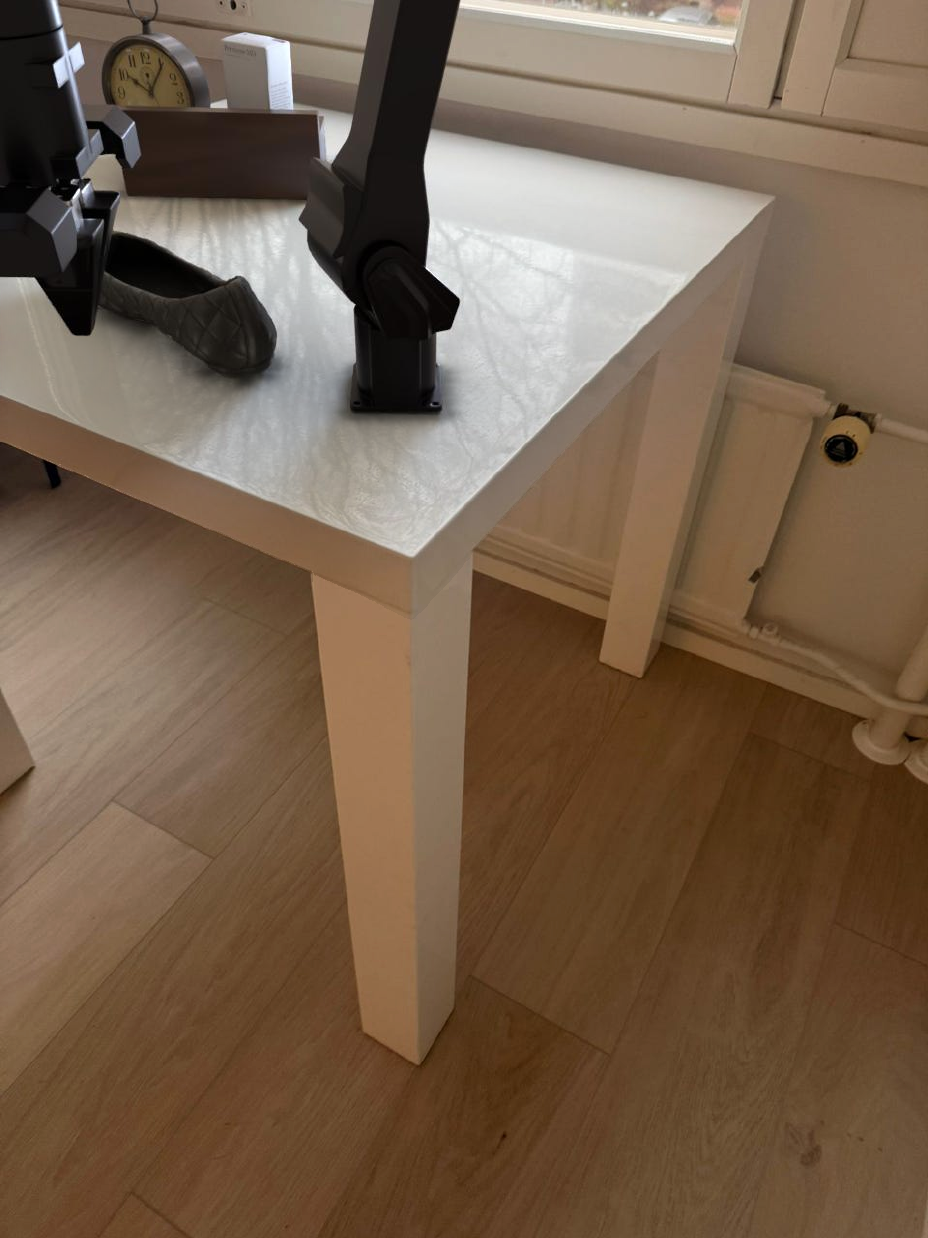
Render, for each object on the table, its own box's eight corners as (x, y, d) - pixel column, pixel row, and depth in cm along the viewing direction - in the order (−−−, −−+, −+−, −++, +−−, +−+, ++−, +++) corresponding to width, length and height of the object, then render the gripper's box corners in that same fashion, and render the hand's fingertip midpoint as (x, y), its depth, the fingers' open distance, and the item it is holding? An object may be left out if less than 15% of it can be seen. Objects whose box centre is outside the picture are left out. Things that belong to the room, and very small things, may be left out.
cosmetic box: (231, 164, 102) (215, 38, 94) (257, 154, 105) (243, 30, 97) (275, 175, 100) (262, 46, 92) (300, 164, 103) (290, 38, 95)
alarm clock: (114, 157, 103) (76, -18, 91) (140, 143, 106) (107, -26, 95) (202, 170, 100) (175, -8, 89) (225, 155, 104) (202, -17, 93)
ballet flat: (133, 258, 83) (115, 170, 78) (320, 360, 70) (312, 263, 65) (43, 285, 78) (17, 194, 73) (226, 399, 65) (209, 299, 60)
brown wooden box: (323, 199, 95) (317, 114, 90) (127, 195, 94) (108, 109, 89) (327, 176, 100) (322, 94, 95) (141, 172, 99) (125, 89, 94)
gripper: (-96, -15, 50) (-5, 267, 61) (-281, 72, 37) (-122, 414, 47) (111, -9, 51) (165, 269, 62) (4, 78, 37) (97, 415, 48)
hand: (83, 333), depth 55 cm, fingers closed
